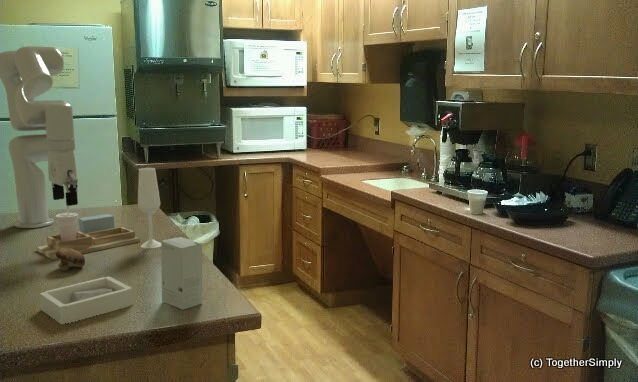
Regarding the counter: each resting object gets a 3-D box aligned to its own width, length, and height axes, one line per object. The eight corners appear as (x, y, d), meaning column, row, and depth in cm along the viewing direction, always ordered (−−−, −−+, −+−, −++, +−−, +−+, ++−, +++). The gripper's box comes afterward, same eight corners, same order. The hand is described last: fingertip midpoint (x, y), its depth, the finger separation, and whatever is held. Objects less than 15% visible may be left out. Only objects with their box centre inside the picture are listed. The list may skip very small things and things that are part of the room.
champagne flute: (151, 241, 194) (146, 166, 190) (167, 244, 191) (163, 168, 186) (135, 246, 188) (130, 169, 184) (152, 249, 185) (147, 171, 181)
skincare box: (161, 302, 143) (158, 240, 140) (182, 295, 147) (179, 235, 144) (183, 311, 137) (180, 247, 134) (205, 303, 142) (202, 241, 139)
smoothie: (72, 249, 181) (68, 203, 179) (53, 248, 183) (49, 202, 180) (85, 243, 188) (81, 199, 185) (66, 242, 189) (62, 198, 186)
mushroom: (50, 264, 161) (61, 242, 163) (49, 267, 168) (59, 246, 170) (79, 275, 164) (90, 253, 166) (77, 278, 171) (87, 257, 173)
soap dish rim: (40, 309, 139) (39, 292, 138) (109, 291, 150) (108, 275, 149) (62, 325, 130) (60, 307, 129) (133, 305, 141) (132, 288, 140)
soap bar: (111, 312, 146) (116, 288, 147) (116, 314, 141) (121, 289, 142) (68, 307, 142) (73, 282, 143) (72, 308, 136) (77, 283, 137)
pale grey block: (80, 235, 202) (78, 218, 201) (110, 231, 208) (108, 213, 207) (84, 238, 199) (82, 220, 197) (114, 233, 205) (113, 216, 203)
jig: (36, 250, 185) (35, 237, 184) (120, 234, 203) (119, 221, 202) (53, 259, 176) (52, 245, 175) (139, 241, 194) (139, 228, 193)
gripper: (37, 143, 183) (41, 198, 187) (60, 150, 171) (64, 209, 174) (62, 141, 188) (66, 195, 192) (86, 147, 176) (90, 205, 180)
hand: (65, 202), depth 183 cm, fingers open, 9 cm apart
